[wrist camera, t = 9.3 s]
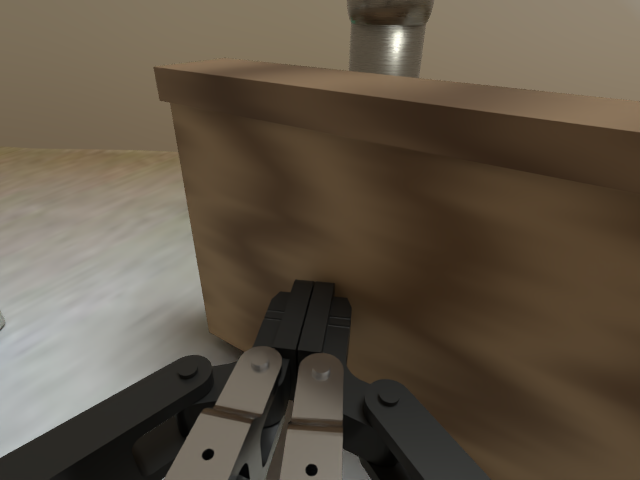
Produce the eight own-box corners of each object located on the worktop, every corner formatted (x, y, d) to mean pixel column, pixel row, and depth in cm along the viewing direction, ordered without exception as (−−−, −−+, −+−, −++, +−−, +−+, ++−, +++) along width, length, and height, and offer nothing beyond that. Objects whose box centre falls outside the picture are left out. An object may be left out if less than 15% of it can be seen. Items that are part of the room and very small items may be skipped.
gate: (789, 557, 13) (1290, 169, 6) (828, 693, 10) (1742, 280, 4) (248, 298, 24) (224, 57, 17) (202, 333, 22) (153, 66, 15)
